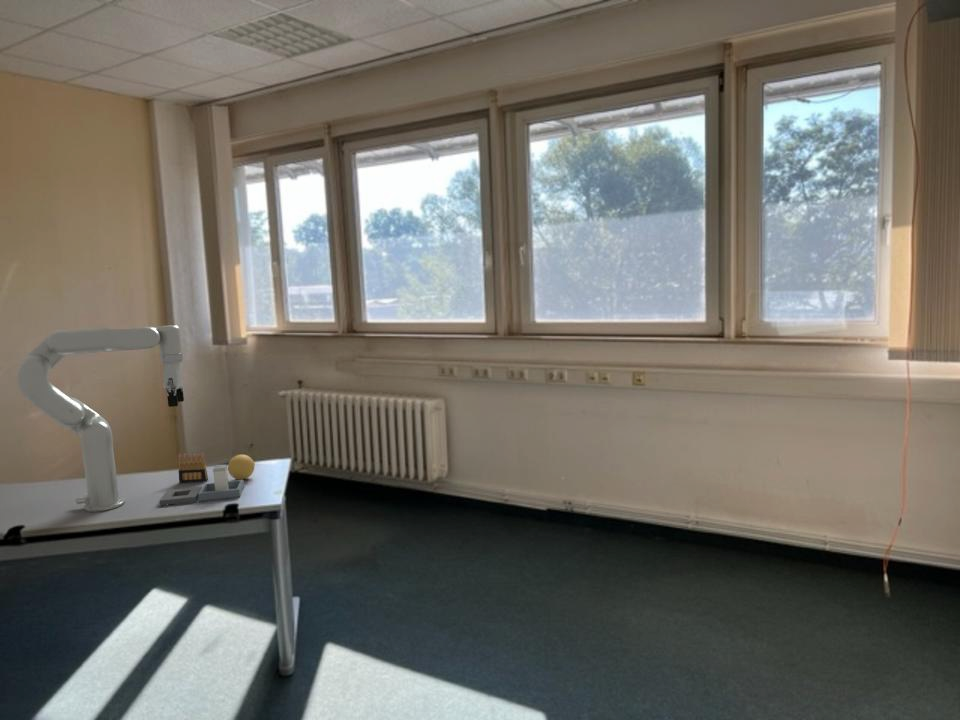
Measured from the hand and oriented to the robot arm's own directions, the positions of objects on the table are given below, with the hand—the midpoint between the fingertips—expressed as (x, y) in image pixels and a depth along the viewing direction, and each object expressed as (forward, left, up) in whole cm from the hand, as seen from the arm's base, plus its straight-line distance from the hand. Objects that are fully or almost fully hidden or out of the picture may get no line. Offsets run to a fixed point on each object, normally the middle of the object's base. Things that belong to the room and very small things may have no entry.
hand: (176, 403), depth 245 cm
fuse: (+15, -11, -33) cm, 38 cm away
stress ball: (+20, +6, -34) cm, 39 cm away
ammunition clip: (+1, +10, -34) cm, 35 cm away
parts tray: (+15, -11, -33) cm, 38 cm away
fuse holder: (+1, -11, -33) cm, 35 cm away
